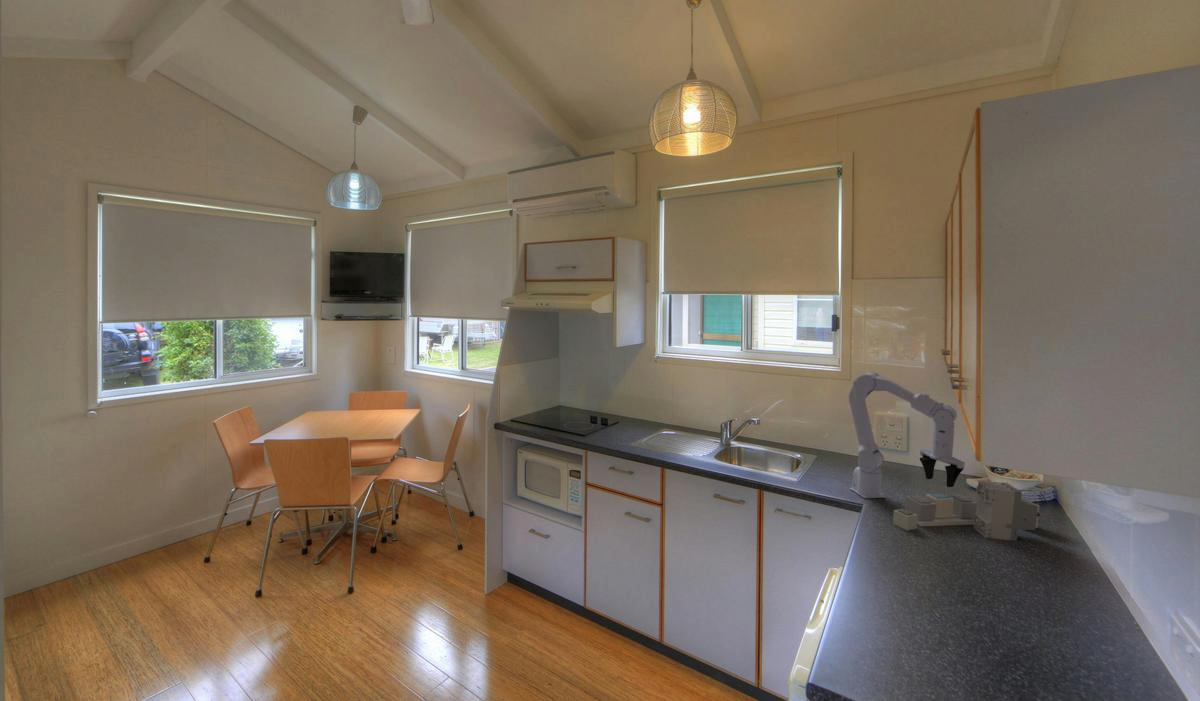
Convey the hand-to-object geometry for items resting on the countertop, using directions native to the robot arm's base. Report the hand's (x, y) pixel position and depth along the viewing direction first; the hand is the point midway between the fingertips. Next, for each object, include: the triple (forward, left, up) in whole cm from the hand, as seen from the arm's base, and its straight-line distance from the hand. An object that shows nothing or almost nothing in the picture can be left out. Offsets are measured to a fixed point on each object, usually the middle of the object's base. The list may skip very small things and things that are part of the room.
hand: (939, 482), depth 174 cm
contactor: (+10, -19, -10) cm, 24 cm away
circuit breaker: (+18, +8, -10) cm, 22 cm away
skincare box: (+12, +19, -10) cm, 25 cm away
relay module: (+6, -5, -8) cm, 11 cm away
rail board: (+6, -4, -10) cm, 12 cm away
